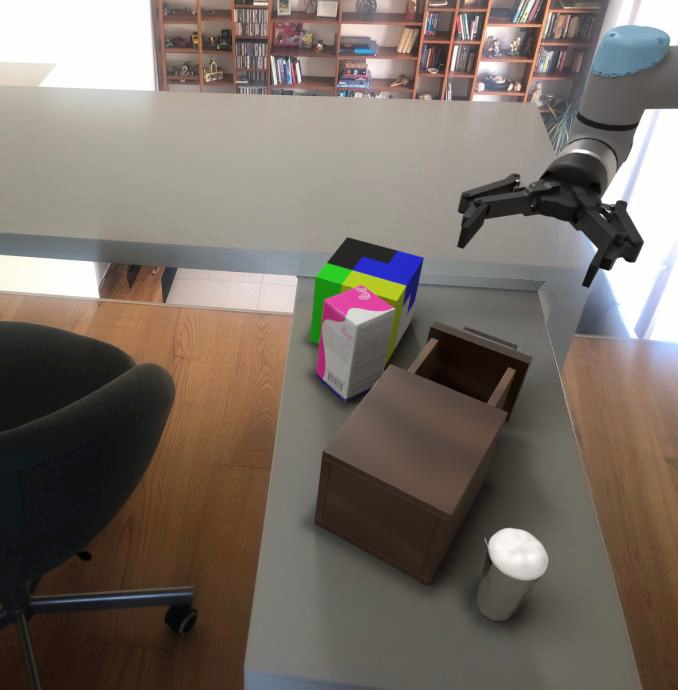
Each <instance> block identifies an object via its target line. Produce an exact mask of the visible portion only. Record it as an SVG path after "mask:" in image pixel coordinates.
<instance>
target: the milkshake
mask: <svg viewBox="0 0 678 690" xmlns="http://www.w3.org/2000/svg"><path fill="white" fill-rule="evenodd" d="M484 542H485V545H486V547H487V550H486V554H485V560H484V564H483V568H482V571H481V575H480V579H479V583H478V586H477V589H476V593H475V594H476V596H475V606H476V607H477V609H478V611H479V612H480V614H481V615H482V616H484V617H485V618H487V619H489V620H491V621H492V622H506V621H508V620H509V619H510V618H511V617H512V616H513V615H514V614H515V613H516V612H517V610H518V609H519V608H520V606H521V604H522V603H523V601H525V599H526V597H527V596H528V594H529V593H530V592H531V590H532V589H533V588H534V586H535V585H536V584H537V583H538V581H539V580H540V579H541V578H542V576H543V575H544V574H545V573H546V571H547V569H548V567H549V556H548V553H547V551H546V549H545V547H544V545H543V544H542V542H541V541H540V540H538V538H536V537H535V536H534V535H533V534H531V533H530V532H528V531H526V530H524V529H519V528H513V527H506V528H502V529H500V530H498V531H497V532H495V533H494V534H493V535H492V536H491V537H490V539H489V541H488V542H487V538H486V537H485V536H484Z"/></svg>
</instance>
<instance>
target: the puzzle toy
mask: <svg viewBox="0 0 678 690" xmlns="http://www.w3.org/2000/svg"><path fill="white" fill-rule="evenodd" d="M424 259H425V257H424V256H421V255H416V254H413V253H409V252H405V251H401V250H397V249H393V248H389V247H386V246H383V245H379V244H376V243H371V242H368V241H364V240H360V239H356V238H352V237H348V236H347V237H346V238H345V239H344V241H343V242H342V243H341V244H340V246H339V247H338V248H337V249H336V251H335V252H334V253H333V255H331V256H330V258H329V259H328V260H327V261H326V263H325V264H324V266H323V267H322V268H321V269H320V271H318V273H317V274H316V275H315V278H314V291H313V301H312V302H313V303H312V304H313V305H312V313H311V326H310V336H309V338H310V339H309V341H310V342H312V343H315V344H318V345H319V343H320V334H321V325H322V316H323V306H324V300H325V299H327V298H330V297H333V296H335V295H338V294H341V293H343V292H346V291H348V290H350V289H353V288H355V287H358V286H360V285H363V286H364V287H366V288H367V289H368V290H370V291H371V292H372V293H374V294H375V295H377V296H378V297H379V298H381V299H382V300H384V301H385V302H386V303H388V304H389V305H391V306H392V307H393V308H395V314H394V319H393V325H392V330H391V335H390V341H389V346H388V352H387V357H386V362H385V366H387V364H388V362H389V360H390V358H391V356H392V355H393V353H394V351H395V350H396V348H397V346H398V345H399V343H400V341H401V339H402V338H403V335H404V334H405V332H406V331H407V329H408V327H409V325H410V324H411V322H412V318H413V313H414V308H415V304H416V303H415V302H416V299H417V293H418V288H419V284H420V278H421V273H422V268H423V264H424Z"/></svg>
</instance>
